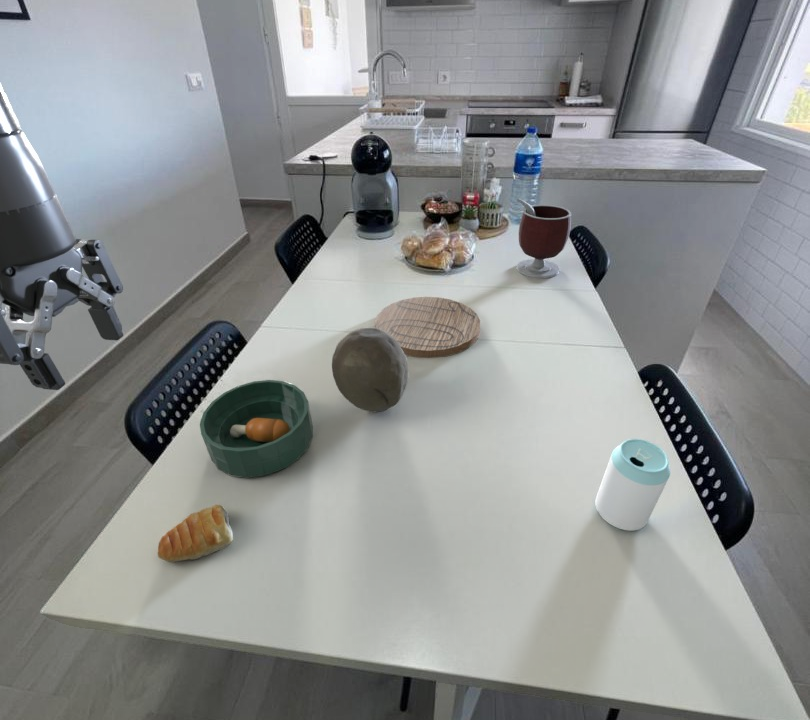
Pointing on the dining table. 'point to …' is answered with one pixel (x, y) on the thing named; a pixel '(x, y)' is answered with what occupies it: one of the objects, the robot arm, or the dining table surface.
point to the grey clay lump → (370, 369)
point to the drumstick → (261, 429)
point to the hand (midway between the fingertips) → (85, 361)
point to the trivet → (430, 326)
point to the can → (632, 484)
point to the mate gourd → (542, 238)
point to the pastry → (197, 535)
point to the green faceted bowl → (248, 404)
